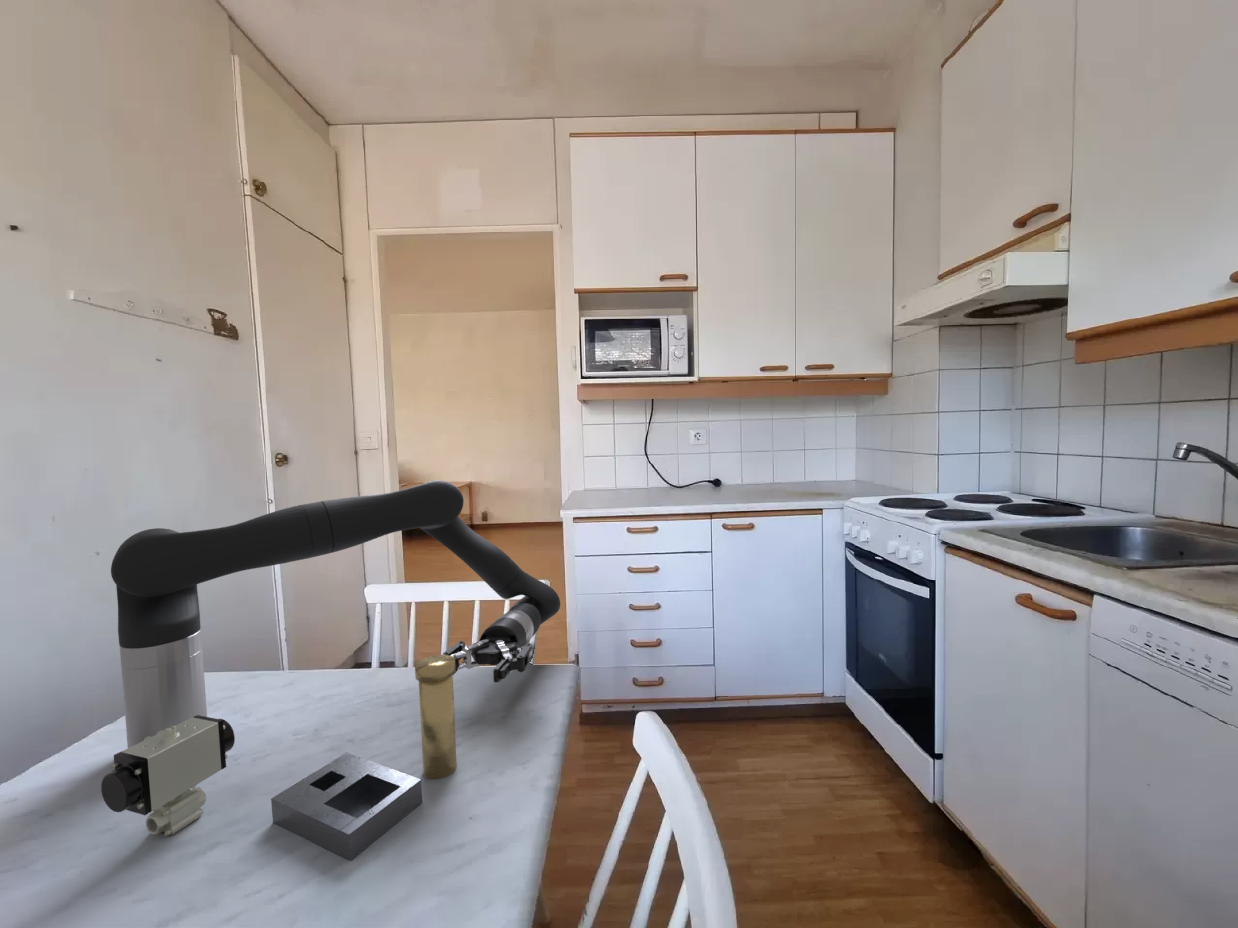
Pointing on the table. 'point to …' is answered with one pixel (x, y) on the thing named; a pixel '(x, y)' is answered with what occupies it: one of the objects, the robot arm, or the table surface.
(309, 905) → the table surface
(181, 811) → the pneumatic valve
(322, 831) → the plate
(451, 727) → the brass headed pin
